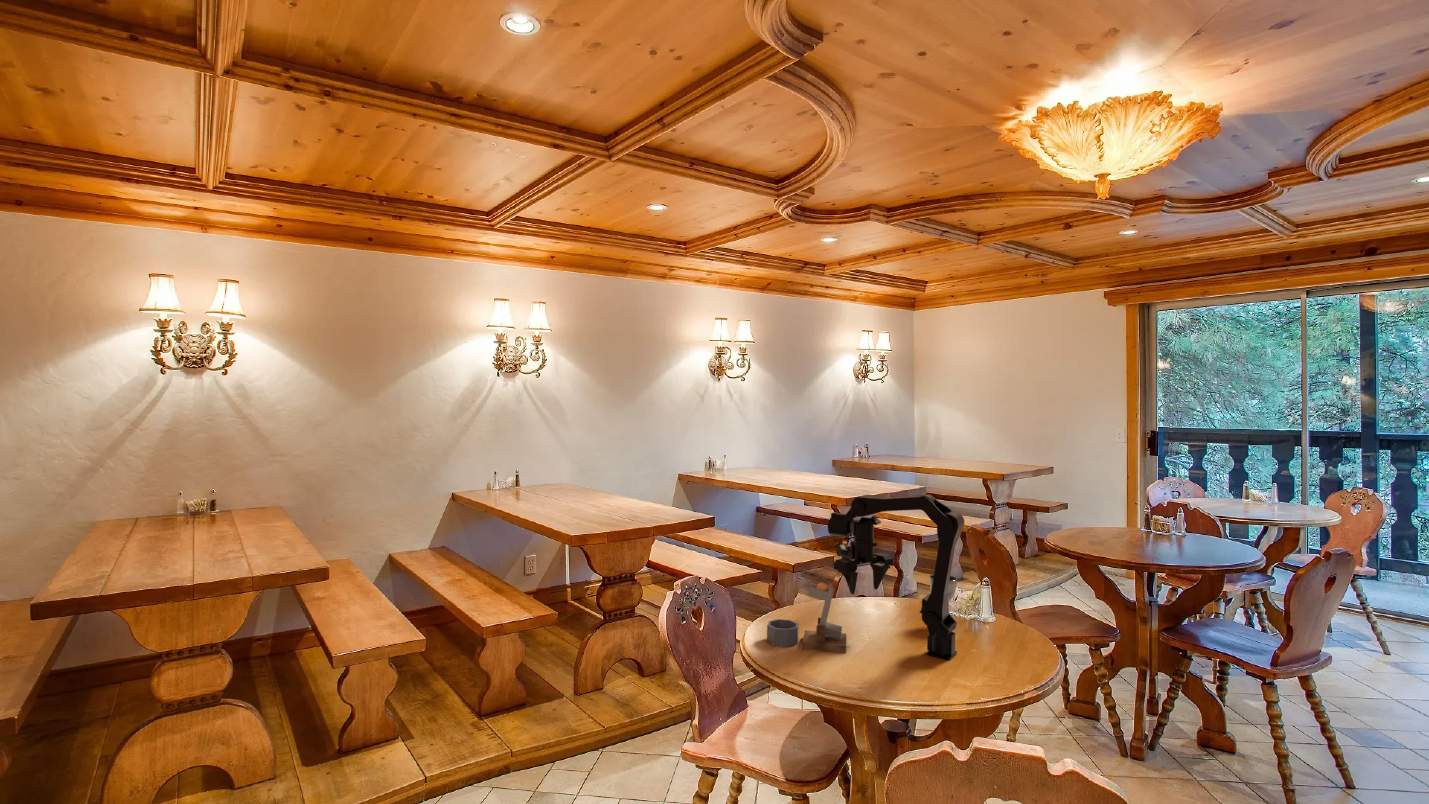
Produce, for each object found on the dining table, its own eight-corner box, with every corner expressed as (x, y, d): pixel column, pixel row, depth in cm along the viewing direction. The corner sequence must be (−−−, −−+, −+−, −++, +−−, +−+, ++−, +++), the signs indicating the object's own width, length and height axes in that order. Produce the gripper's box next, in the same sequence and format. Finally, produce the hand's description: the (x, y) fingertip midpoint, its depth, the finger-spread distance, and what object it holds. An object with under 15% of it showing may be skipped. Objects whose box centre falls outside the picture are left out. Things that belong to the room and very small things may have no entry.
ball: (828, 594, 204) (830, 583, 203) (823, 596, 201) (825, 585, 201) (818, 591, 205) (820, 580, 205) (813, 592, 203) (815, 581, 203)
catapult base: (846, 640, 207) (846, 618, 207) (845, 653, 197) (846, 629, 197) (804, 637, 209) (805, 615, 209) (802, 649, 200) (802, 626, 199)
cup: (799, 637, 209) (799, 620, 209) (796, 648, 201) (796, 630, 200) (769, 635, 211) (769, 618, 211) (765, 645, 202) (766, 628, 202)
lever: (840, 634, 205) (850, 591, 204) (839, 641, 200) (850, 596, 199) (801, 623, 207) (811, 580, 207) (799, 629, 202) (810, 585, 201)
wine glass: (923, 622, 223) (924, 575, 223) (944, 620, 226) (945, 573, 226) (940, 631, 216) (940, 581, 216) (961, 628, 219) (962, 579, 218)
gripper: (868, 530, 221) (868, 581, 221) (821, 537, 211) (821, 590, 211) (894, 536, 211) (894, 589, 211) (846, 544, 202) (847, 599, 202)
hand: (864, 591), depth 209 cm, fingers open, 9 cm apart
